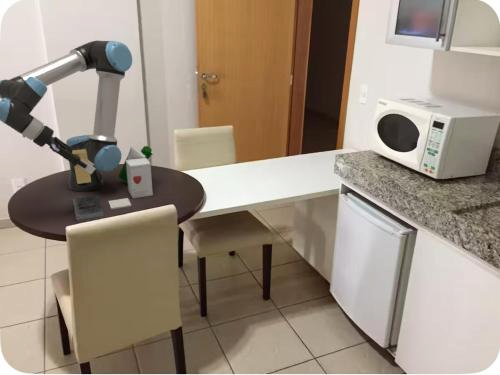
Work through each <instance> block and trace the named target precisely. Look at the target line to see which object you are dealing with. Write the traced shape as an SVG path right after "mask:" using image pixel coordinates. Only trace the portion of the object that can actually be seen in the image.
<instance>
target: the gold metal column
mask: <svg viewBox="0 0 500 375" xmlns="http://www.w3.org/2000/svg"><path fill="white" fill-rule="evenodd" d="M72 153H73V154H74V155H75V156H77V157H78V158H80V159H82V160H84V161H85V162H87V163H88V157H87V152H86V149H81V150H73V151H72ZM74 167H75V173H76V179H77V183H78V184H81V183H88V182H91V177H90V173H88V172H87V171H85V170H84V169H82V168H81V167H79V166H78V165H76V166H74Z"/></svg>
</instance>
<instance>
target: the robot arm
mask: <svg viewBox="0 0 500 375" xmlns="http://www.w3.org/2000/svg"><path fill="white" fill-rule="evenodd" d="M132 64H133V56H132V52H131V50H130V49H129V47H128V46H127V45H126V44H125V43H123V42H121V41H115V40H92V41H89V42H87V43H84V44H82V45H80V46H79V45H78V46H77V47H75V48H73V49H71V50H70V51H69V53H68V54H66V55H63V56H61V57H59V58H56V59H54V60H52V61H50V62H48V63H45V64H43V65H41V66H38V67H36V68H33V69H32V70H29V71H27V72H24V73H22V74H19V75H18V76H14V77H13V78H10V79H0V99H1V100H0V122H1V123H2V124H3V123H4V124H5V125H6V126H8V127H9V128H11V129H13V130H14V131H15V132H17V133H18V134H21V135H22V138H27V139H28V140H30V141H32V142H33V143H34V144H35V145H37V146H38V147H42V148H43V147H44V146H45V145H47V146H49V149H51V151H52V152H54V153H56V154H57V155H59V156H60V157H62V158H64V159H65V160H67V161H68V163H69V169H70V170H69V176H68V182H67V183H68V184H67V185H68V189H69V190H71V191H75V192H88V191H93V190H96V189H98V188H101V187H103V186H104V178H103V176H102V174H101V172H102V171H103V172H110V171H114V170H115V168H116V167H118V166H119V164H120V163H121V160H122V151H121V148H119V147H118V139H117V138H116V137H115V133H116V123H117V115H118V114H117V113H118V107H119V105H118V104H119V98H120V97H119V95H120V89H121V88H120V86H121V80H122V79H124V78H125V76H126V71H129V69H131V67H132ZM94 69H95V73H96V74H97V76H98V83H97V84H98V85H97V94H96V95H97V96H96V104H95V113H94V123H93V133H92V134H85V135H78V136H73V137H69V138H68V139H67V140H66V142H64V141H62V140H61V139H60V138H59V137H57V136H54V133H55V132H54V130H53V129H52V128H50V127H49V126H47V125H44V122H42V121H41V120H39V119H37V118H36V117H35V116H33V115H32V114H31V112H32V111H33V110H34V109H35V107H37V105H38V104H39V103H40V101H41V100H42V99H43V98H44V96H45V94H46V93H47V91H48V86H50V85H52V84H54V83H56V82H59V81H60V80H63V79H65V78H67V77H69V76H72V75H75V73H78V72H81V73H84V72H85V71H89V70H94ZM81 149H86V152H87V157H88V163H87V162H85V161H84V160H82V159H80V158H78V157H77V156H75V155H74V154H73V153H72V151H73V150H81ZM76 165H78V166H79V167H81V168H82V169H84V170H85V171H87V172H88V173H90V177H91V182H88V183H81V184H78V183H77V179H76V173H75V167H74V166H76ZM100 171H101V172H100Z"/></svg>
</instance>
